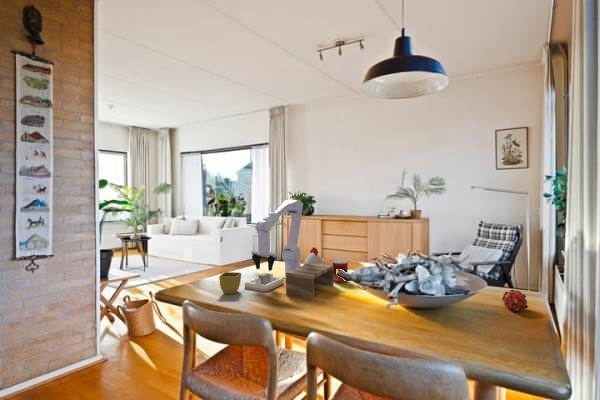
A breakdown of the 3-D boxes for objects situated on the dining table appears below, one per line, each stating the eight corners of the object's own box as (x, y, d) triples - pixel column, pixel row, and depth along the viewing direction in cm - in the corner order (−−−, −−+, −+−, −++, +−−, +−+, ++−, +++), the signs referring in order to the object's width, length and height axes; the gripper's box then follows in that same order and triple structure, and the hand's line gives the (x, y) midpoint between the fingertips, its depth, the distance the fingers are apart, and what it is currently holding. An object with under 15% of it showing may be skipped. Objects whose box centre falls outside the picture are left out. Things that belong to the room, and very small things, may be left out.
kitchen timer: (310, 276, 195) (309, 250, 195) (298, 271, 207) (298, 247, 207) (330, 273, 202) (330, 248, 202) (318, 268, 214) (317, 245, 214)
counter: (309, 282, 182) (309, 263, 181) (333, 285, 175) (333, 265, 175) (286, 294, 161) (285, 272, 160) (312, 299, 154) (312, 275, 154)
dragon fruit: (516, 309, 142) (516, 322, 132) (497, 295, 145) (496, 307, 135) (531, 295, 138) (532, 308, 128) (511, 281, 141) (511, 293, 131)
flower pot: (242, 290, 169) (241, 272, 169) (237, 295, 160) (236, 276, 160) (224, 289, 170) (224, 272, 170) (219, 295, 161) (218, 276, 161)
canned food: (348, 283, 179) (348, 262, 178) (333, 283, 179) (333, 262, 179) (346, 279, 186) (346, 259, 186) (332, 279, 187) (332, 259, 186)
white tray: (263, 280, 186) (262, 269, 186) (283, 283, 180) (283, 272, 180) (244, 288, 172) (244, 276, 172) (266, 291, 166) (265, 279, 166)
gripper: (247, 243, 176) (248, 269, 176) (271, 245, 169) (271, 272, 169) (255, 242, 182) (256, 267, 182) (278, 243, 175) (279, 269, 175)
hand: (264, 269), depth 176 cm, fingers open, 7 cm apart
